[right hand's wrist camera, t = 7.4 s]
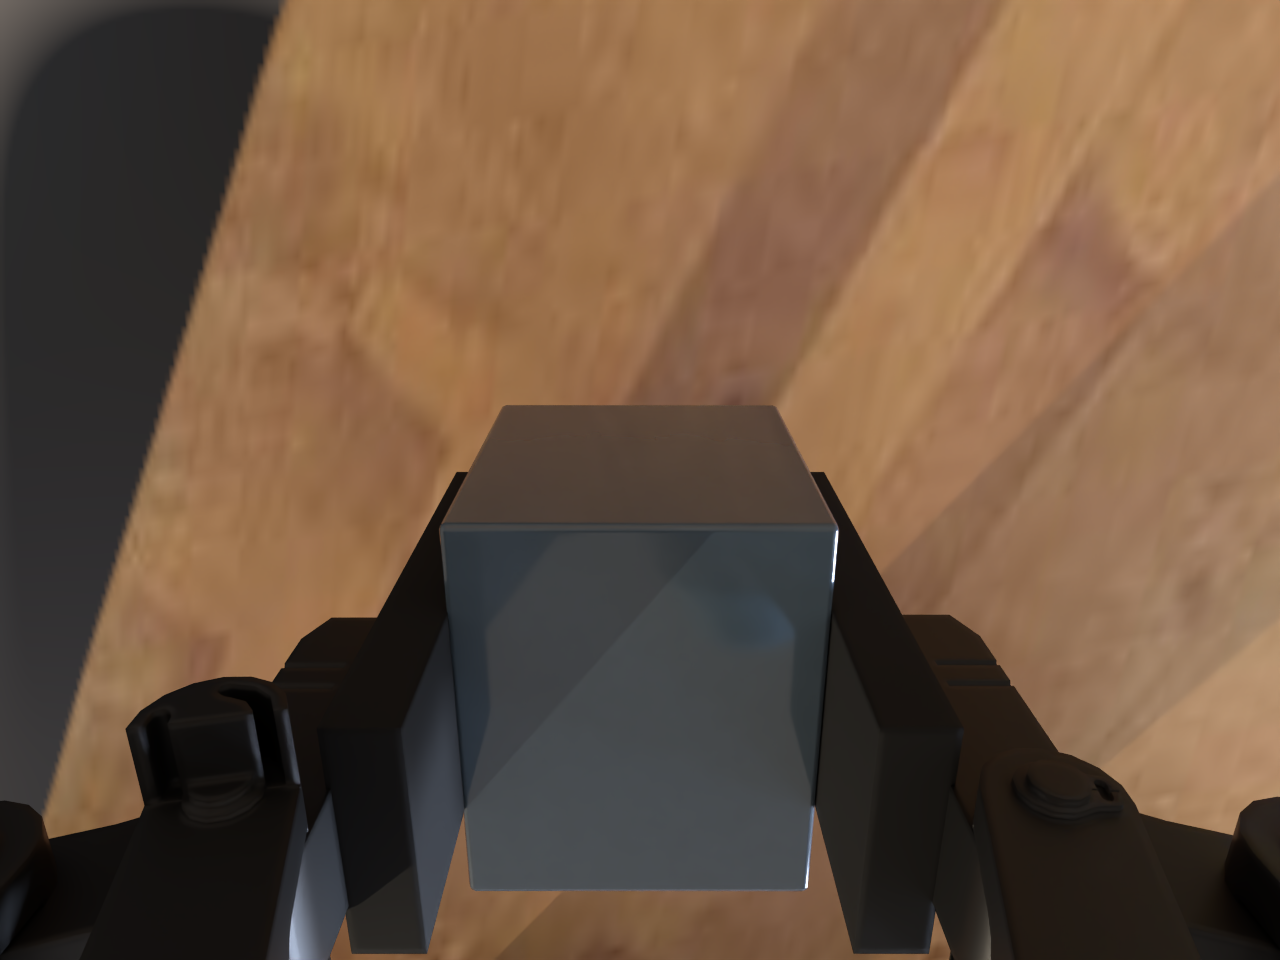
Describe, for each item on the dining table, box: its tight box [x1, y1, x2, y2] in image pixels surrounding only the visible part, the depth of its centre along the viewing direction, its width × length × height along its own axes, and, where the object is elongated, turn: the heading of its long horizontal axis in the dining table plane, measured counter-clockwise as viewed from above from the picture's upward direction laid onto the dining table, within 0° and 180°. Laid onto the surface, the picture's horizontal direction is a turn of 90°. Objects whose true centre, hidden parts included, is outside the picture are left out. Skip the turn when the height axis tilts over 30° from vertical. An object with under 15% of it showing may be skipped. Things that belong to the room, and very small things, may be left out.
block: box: [439, 405, 839, 891], centre depth 13 cm, size 5×4×5 cm
